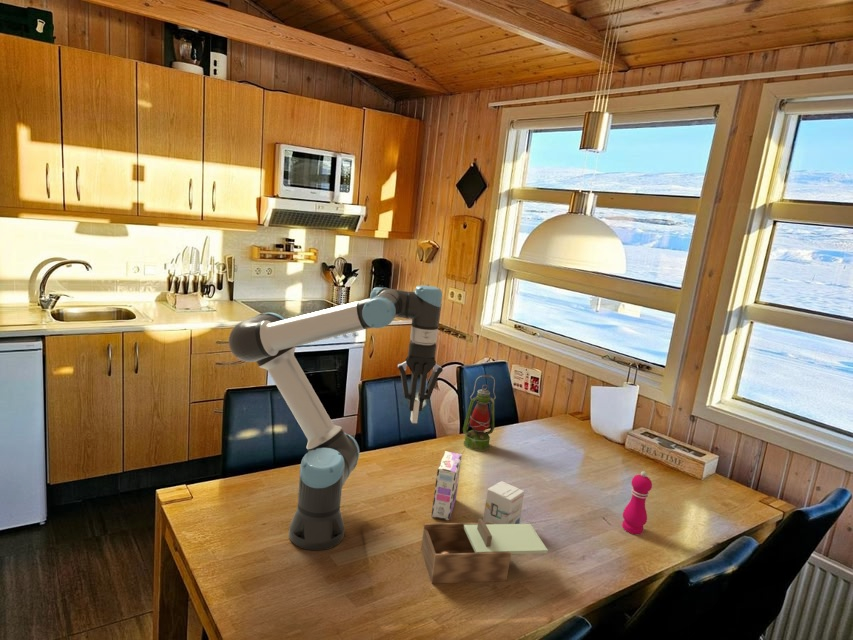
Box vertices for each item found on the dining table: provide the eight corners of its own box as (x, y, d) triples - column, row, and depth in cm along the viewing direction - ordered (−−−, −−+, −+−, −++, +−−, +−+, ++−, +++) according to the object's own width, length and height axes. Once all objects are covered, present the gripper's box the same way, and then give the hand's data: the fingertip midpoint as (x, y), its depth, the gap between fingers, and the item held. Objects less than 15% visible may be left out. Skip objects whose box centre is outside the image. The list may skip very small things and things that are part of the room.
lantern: (465, 451, 222) (475, 379, 216) (455, 440, 232) (465, 370, 226) (497, 450, 226) (508, 379, 220) (486, 439, 236) (496, 371, 230)
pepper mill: (629, 536, 175) (641, 477, 171) (615, 523, 182) (627, 466, 178) (648, 535, 177) (661, 477, 173) (635, 522, 184) (646, 465, 180)
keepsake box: (431, 585, 142) (435, 555, 140) (420, 551, 155) (424, 523, 153) (506, 583, 146) (511, 553, 144) (489, 550, 159) (493, 522, 158)
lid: (476, 555, 143) (478, 541, 143) (463, 527, 155) (465, 514, 154) (547, 553, 148) (549, 539, 147) (529, 526, 159) (531, 514, 159)
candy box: (449, 521, 171) (456, 472, 168) (430, 517, 172) (437, 468, 169) (456, 499, 185) (462, 453, 181) (438, 496, 186) (444, 449, 182)
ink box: (496, 513, 180) (501, 479, 177) (519, 524, 174) (525, 490, 172) (481, 522, 173) (486, 488, 171) (505, 535, 168) (510, 499, 165)
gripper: (402, 343, 151) (393, 425, 156) (449, 346, 154) (438, 427, 159) (397, 336, 158) (389, 415, 163) (442, 339, 161) (433, 416, 166)
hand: (413, 421), depth 161 cm, fingers closed
